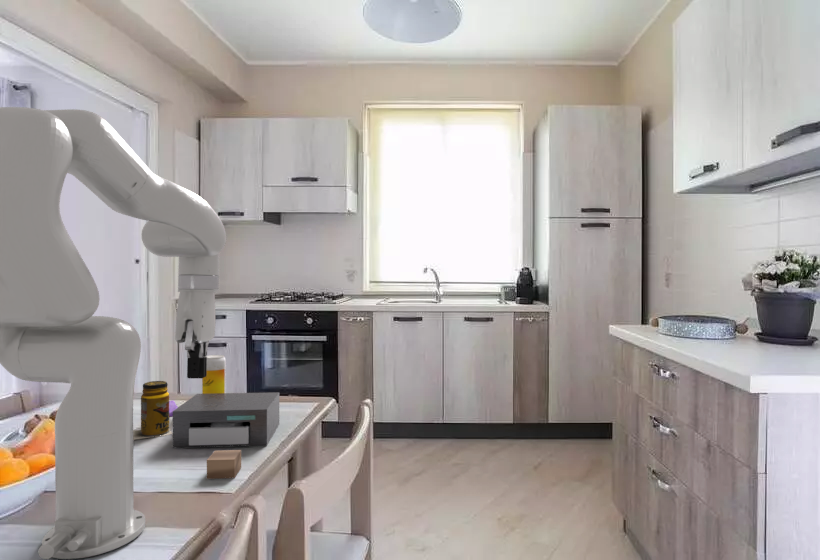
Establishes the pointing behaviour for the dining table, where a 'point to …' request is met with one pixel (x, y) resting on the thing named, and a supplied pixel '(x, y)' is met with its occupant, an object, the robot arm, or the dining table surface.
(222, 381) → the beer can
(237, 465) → the walnut block
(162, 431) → the condiment
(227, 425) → the disc
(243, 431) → the tray
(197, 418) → the player
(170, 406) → the sponges
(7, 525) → the dining table surface
